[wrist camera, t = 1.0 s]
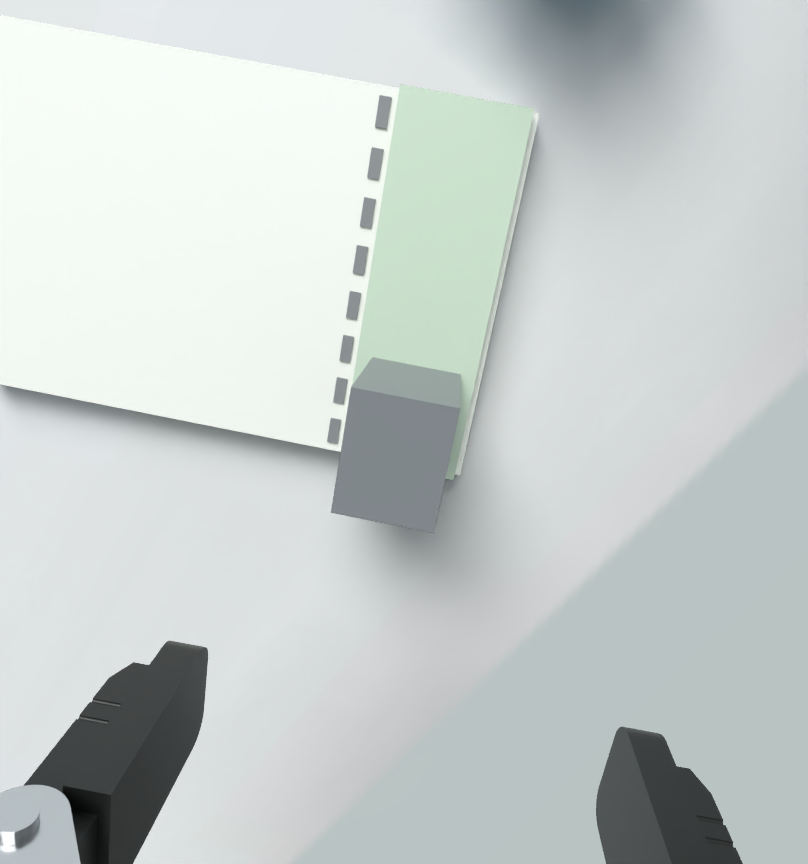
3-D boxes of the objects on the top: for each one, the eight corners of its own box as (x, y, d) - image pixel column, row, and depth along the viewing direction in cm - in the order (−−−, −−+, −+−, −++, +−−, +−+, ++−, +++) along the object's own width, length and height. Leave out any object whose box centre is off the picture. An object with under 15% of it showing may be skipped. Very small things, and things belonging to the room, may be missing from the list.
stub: (401, 87, 27) (382, 42, 20) (532, 111, 27) (554, 73, 20) (342, 453, 31) (312, 508, 25) (453, 475, 31) (452, 536, 25)
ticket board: (-6, 20, 29) (-32, 8, 27) (535, 119, 28) (539, 113, 27) (-3, 373, 34) (-25, 380, 32) (459, 465, 33) (460, 476, 31)
